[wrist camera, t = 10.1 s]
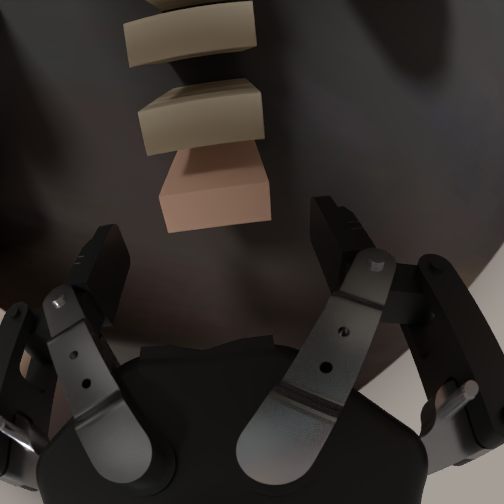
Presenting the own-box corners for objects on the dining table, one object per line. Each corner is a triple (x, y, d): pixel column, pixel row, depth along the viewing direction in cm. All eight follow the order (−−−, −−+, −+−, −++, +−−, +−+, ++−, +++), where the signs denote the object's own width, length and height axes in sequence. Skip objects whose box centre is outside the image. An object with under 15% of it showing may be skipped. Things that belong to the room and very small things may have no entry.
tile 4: (172, 88, 18) (137, 112, 10) (245, 78, 18) (261, 92, 10) (176, 115, 19) (147, 155, 12) (248, 105, 19) (264, 138, 12)
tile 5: (182, 140, 20) (158, 196, 13) (251, 131, 20) (269, 182, 13) (186, 165, 21) (168, 232, 14) (253, 157, 21) (271, 220, 14)
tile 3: (164, 36, 15) (123, 23, 8) (239, 24, 15) (252, 0, 8) (168, 62, 16) (129, 67, 9) (242, 51, 16) (257, 46, 9)
